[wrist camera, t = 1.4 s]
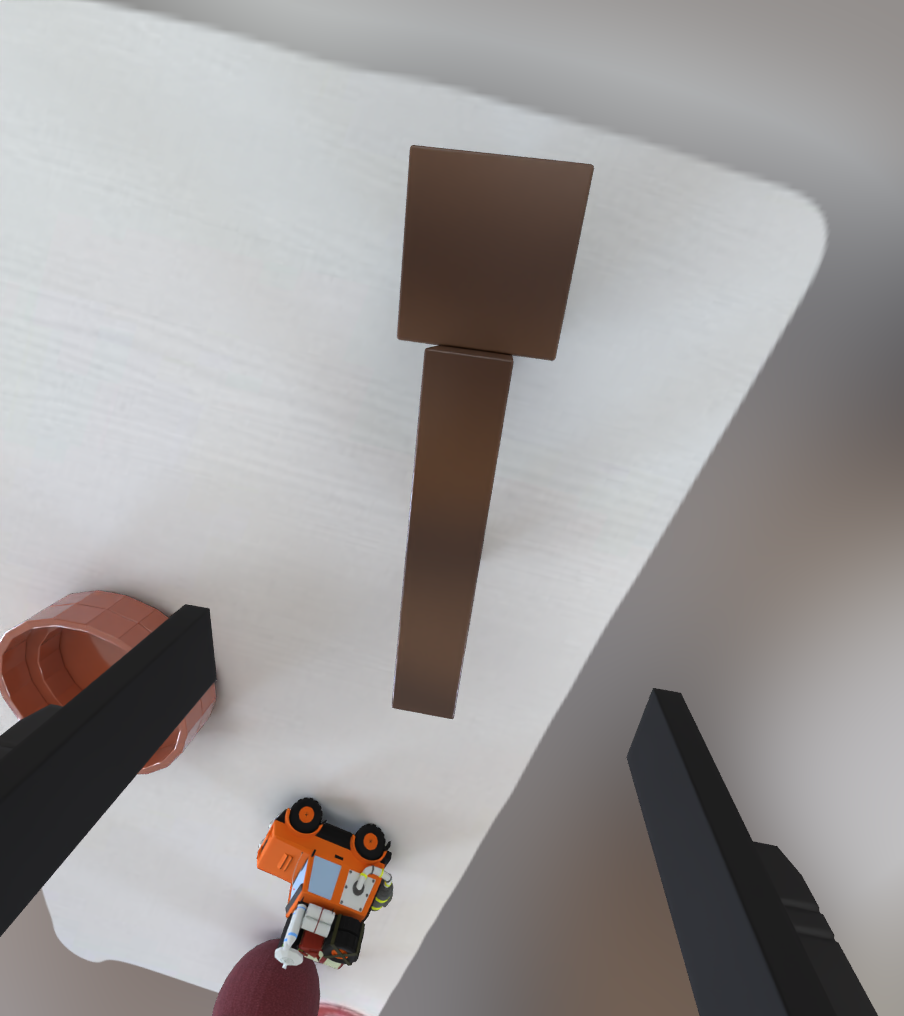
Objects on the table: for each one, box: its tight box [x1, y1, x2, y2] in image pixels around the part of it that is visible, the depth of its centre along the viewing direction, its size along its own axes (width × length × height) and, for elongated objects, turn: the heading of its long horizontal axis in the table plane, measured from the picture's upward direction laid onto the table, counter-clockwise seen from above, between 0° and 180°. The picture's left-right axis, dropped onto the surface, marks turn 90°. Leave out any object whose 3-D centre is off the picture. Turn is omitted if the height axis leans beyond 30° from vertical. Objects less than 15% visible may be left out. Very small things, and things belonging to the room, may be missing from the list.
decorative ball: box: [212, 939, 320, 1016], centre depth 44 cm, size 10×10×10 cm
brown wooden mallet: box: [392, 145, 594, 719], centre depth 19 cm, size 18×5×12 cm, turn 173°
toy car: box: [257, 798, 393, 969], centre depth 36 cm, size 7×12×9 cm, turn 67°
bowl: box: [0, 590, 216, 774], centre depth 33 cm, size 14×14×4 cm
